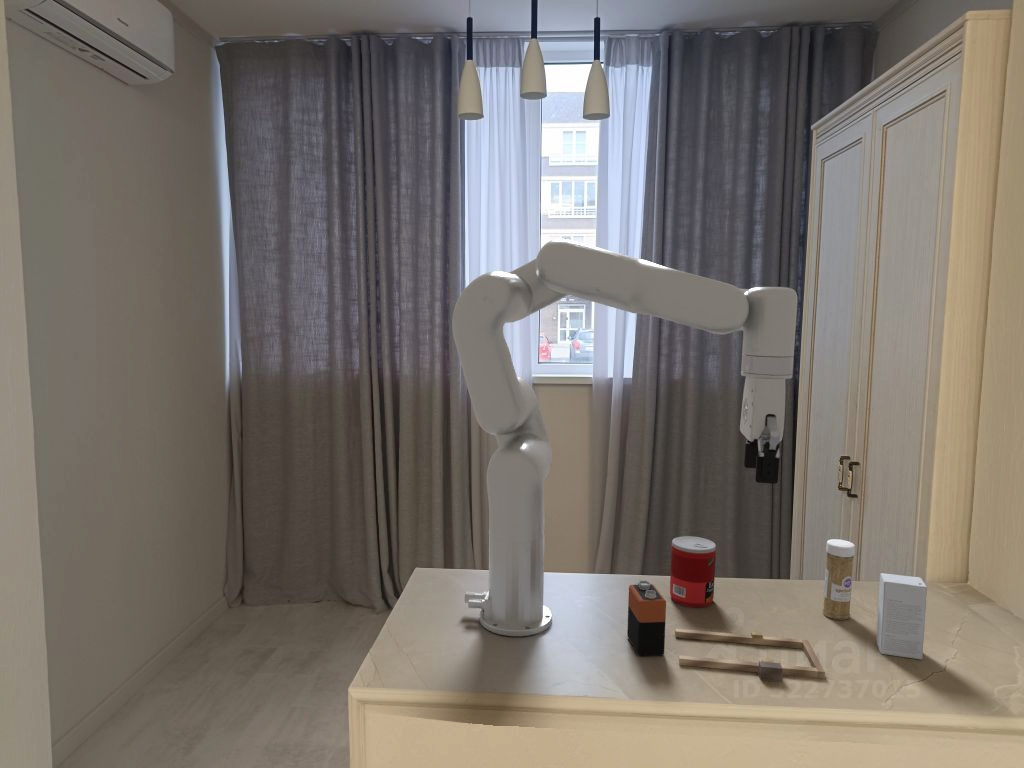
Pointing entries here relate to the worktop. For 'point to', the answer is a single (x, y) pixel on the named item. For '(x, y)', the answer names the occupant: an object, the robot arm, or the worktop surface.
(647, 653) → the battery
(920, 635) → the skincare box
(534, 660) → the worktop surface
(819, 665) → the track
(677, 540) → the canned food
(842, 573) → the sprinkles bottle
